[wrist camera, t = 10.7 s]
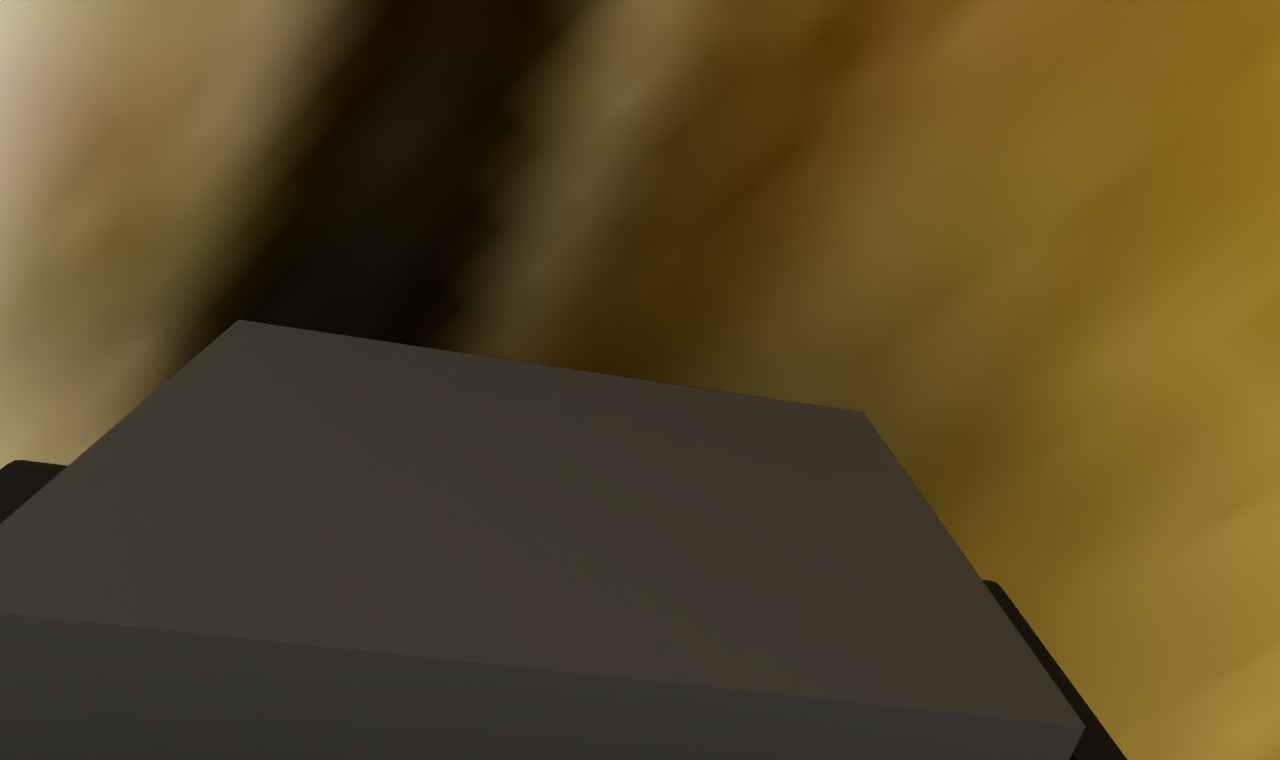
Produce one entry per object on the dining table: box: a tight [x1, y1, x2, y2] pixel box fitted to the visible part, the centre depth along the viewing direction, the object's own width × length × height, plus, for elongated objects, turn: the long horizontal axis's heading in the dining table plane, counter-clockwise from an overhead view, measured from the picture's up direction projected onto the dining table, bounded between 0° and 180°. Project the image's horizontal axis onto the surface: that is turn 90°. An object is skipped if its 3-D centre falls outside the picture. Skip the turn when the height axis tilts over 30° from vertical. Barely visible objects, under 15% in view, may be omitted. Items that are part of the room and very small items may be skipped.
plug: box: [0, 320, 1085, 760], centre depth 9 cm, size 6×6×8 cm
